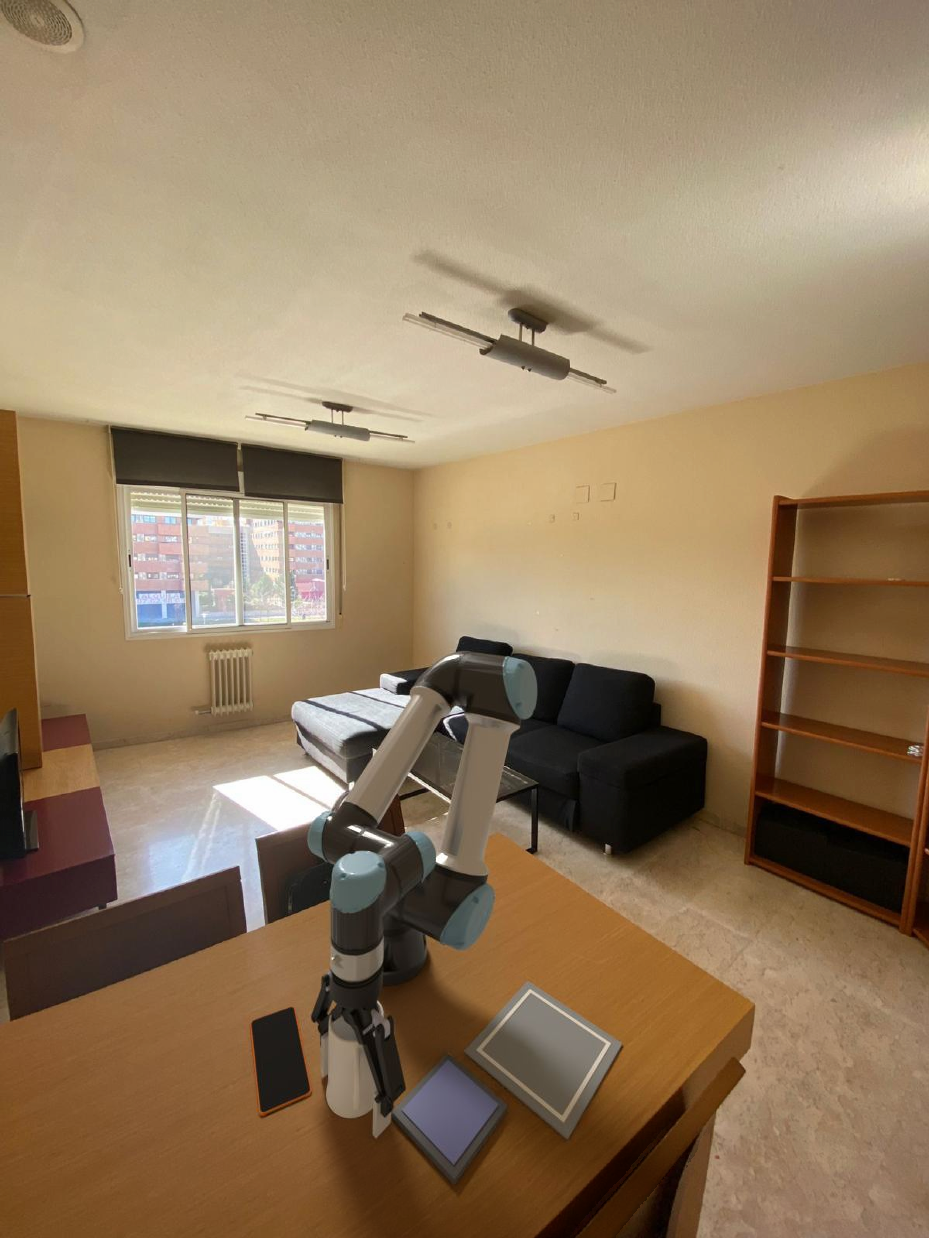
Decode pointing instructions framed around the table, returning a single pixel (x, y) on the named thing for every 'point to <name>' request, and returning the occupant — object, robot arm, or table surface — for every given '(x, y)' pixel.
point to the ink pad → (450, 1116)
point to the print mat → (545, 1056)
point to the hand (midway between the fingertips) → (354, 1097)
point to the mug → (348, 1071)
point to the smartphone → (279, 1061)
